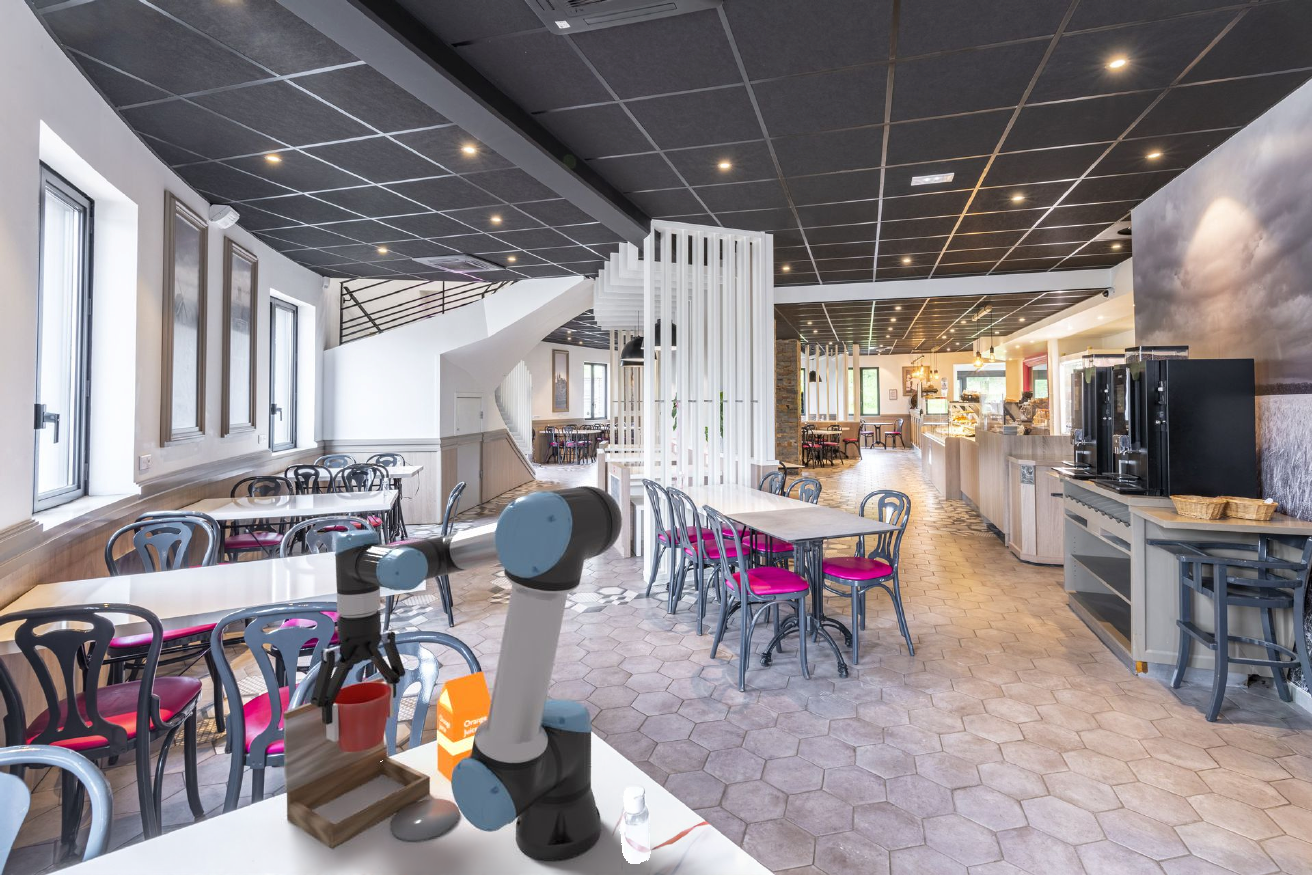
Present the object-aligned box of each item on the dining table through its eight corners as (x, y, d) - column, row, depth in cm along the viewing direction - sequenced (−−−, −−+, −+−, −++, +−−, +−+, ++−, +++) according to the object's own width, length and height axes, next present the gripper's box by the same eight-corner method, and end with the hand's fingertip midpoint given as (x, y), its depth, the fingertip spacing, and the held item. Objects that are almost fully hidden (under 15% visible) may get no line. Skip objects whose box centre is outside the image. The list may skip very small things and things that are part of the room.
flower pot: (369, 759, 118) (368, 706, 118) (316, 753, 120) (315, 701, 120) (403, 732, 128) (402, 683, 128) (354, 727, 131) (353, 679, 130)
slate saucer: (472, 815, 122) (472, 811, 122) (417, 850, 112) (417, 846, 112) (431, 794, 129) (431, 791, 129) (376, 826, 119) (376, 822, 119)
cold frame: (429, 793, 129) (429, 694, 129) (332, 849, 112) (331, 735, 112) (377, 767, 139) (376, 675, 138) (280, 815, 122) (279, 710, 121)
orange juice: (436, 769, 138) (436, 676, 138) (475, 755, 144) (475, 665, 144) (453, 784, 132) (452, 687, 132) (492, 769, 138) (492, 676, 138)
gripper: (400, 595, 136) (402, 700, 136) (286, 625, 116) (289, 747, 117) (423, 600, 131) (425, 709, 132) (309, 632, 112) (311, 758, 113)
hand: (361, 727), depth 124 cm, fingers closed on flower pot, 11 cm apart
